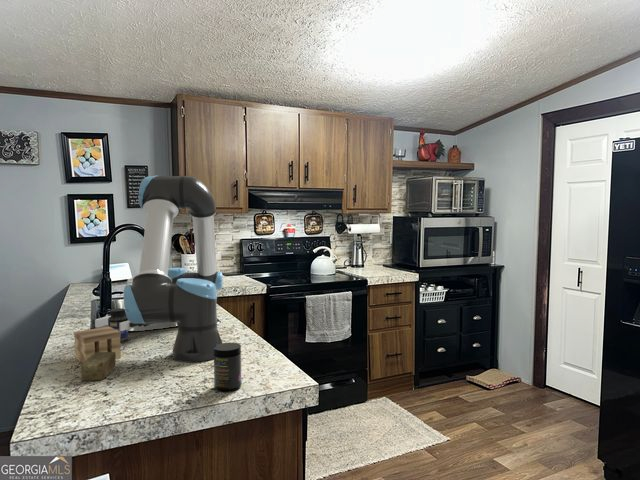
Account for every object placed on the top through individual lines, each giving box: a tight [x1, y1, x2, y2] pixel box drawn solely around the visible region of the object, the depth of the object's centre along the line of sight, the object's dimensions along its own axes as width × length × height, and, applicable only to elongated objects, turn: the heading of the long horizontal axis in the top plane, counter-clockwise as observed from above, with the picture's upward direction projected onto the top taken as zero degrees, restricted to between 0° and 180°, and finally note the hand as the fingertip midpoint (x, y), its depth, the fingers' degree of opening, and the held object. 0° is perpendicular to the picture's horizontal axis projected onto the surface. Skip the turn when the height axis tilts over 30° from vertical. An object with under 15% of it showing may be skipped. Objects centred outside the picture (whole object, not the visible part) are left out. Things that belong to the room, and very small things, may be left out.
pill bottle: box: [108, 307, 129, 344], centre depth 149 cm, size 6×6×11 cm
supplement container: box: [213, 342, 243, 393], centre depth 108 cm, size 7×7×10 cm
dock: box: [73, 326, 122, 364], centre depth 132 cm, size 10×10×8 cm
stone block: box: [80, 352, 117, 382], centre depth 119 cm, size 6×12×5 cm, turn 9°
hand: (107, 325), depth 146 cm, fingers open, 11 cm apart
